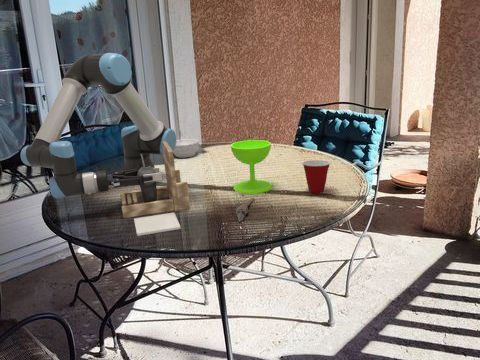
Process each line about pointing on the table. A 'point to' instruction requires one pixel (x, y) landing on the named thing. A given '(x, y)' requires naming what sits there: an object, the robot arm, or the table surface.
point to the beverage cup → (148, 184)
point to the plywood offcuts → (129, 199)
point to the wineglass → (251, 164)
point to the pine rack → (162, 192)
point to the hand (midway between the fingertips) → (160, 173)
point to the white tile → (156, 224)
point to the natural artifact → (243, 209)
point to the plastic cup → (316, 175)
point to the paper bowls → (186, 148)
